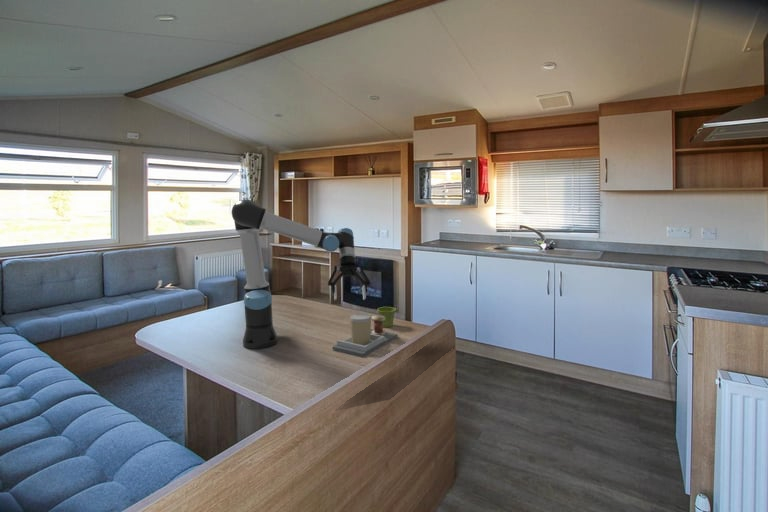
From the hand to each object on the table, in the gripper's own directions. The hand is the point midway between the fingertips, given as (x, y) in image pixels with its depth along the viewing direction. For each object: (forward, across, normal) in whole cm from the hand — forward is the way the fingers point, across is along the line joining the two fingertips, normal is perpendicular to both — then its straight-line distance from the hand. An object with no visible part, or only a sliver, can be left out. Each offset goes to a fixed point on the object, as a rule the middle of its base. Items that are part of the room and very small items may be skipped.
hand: (350, 299), depth 191 cm
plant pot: (+8, -22, -18) cm, 29 cm away
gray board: (+21, -6, -1) cm, 22 cm away
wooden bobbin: (+15, -13, -5) cm, 21 cm away
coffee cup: (+21, -3, +2) cm, 22 cm away
